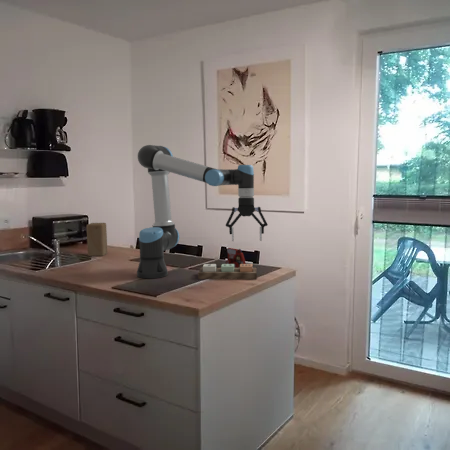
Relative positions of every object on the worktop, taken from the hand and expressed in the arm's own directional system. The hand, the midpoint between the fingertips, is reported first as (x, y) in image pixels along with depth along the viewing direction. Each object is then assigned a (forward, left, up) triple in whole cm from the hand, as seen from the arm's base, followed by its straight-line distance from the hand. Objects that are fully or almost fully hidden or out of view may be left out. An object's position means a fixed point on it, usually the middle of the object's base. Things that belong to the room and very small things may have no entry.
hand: (246, 240), depth 219 cm
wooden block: (-95, +57, -18) cm, 112 cm away
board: (-9, -1, -17) cm, 20 cm away
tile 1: (-18, -1, -15) cm, 24 cm away
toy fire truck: (-6, +19, -18) cm, 26 cm away
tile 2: (-9, -1, -15) cm, 18 cm away
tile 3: (0, -1, -15) cm, 15 cm away
